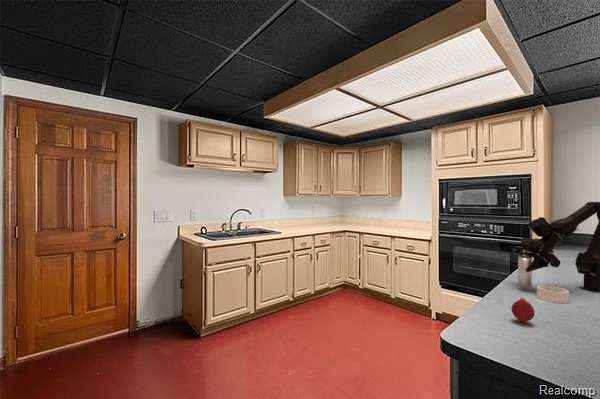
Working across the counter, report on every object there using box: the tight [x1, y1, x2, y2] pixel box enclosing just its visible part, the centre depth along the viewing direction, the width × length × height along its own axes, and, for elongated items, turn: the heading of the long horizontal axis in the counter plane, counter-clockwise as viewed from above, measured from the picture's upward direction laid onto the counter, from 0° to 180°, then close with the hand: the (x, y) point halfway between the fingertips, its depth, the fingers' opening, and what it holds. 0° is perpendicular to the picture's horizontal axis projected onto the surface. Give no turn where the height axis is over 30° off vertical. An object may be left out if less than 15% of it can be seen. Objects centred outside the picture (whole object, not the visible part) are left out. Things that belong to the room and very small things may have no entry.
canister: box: [517, 254, 533, 288], centre depth 125 cm, size 5×5×13 cm
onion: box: [510, 296, 535, 324], centre depth 92 cm, size 6×6×8 cm
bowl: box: [536, 284, 570, 304], centre depth 115 cm, size 9×9×4 cm
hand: (521, 269), depth 125 cm, fingers closed on canister, 5 cm apart
